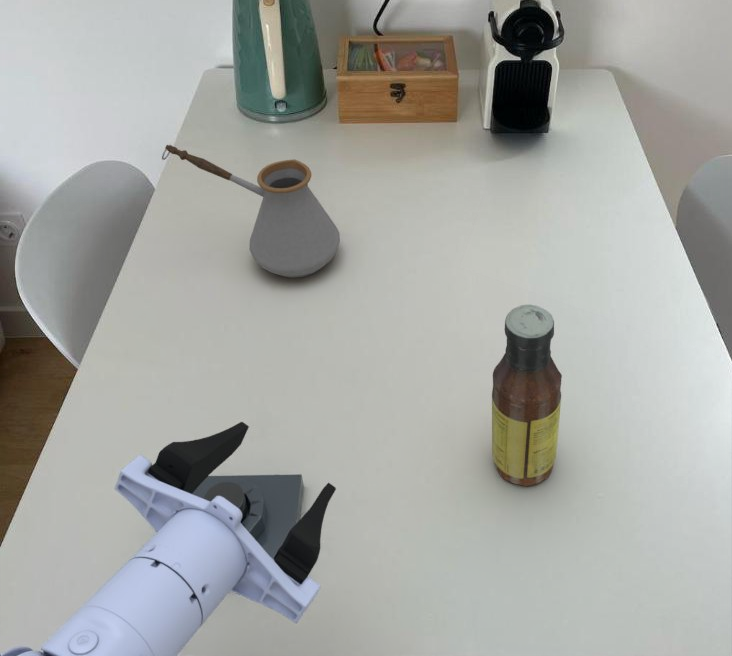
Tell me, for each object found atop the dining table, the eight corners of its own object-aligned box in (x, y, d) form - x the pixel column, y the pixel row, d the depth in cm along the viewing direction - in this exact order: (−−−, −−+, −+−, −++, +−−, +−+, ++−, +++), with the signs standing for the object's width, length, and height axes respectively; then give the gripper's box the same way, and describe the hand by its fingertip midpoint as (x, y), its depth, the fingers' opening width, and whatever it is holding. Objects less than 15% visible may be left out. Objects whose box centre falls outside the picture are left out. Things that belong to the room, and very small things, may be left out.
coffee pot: (353, 237, 107) (344, 139, 97) (324, 294, 99) (310, 194, 89) (207, 215, 112) (183, 120, 102) (168, 268, 104) (137, 170, 94)
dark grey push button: (250, 493, 74) (246, 481, 73) (244, 528, 72) (240, 516, 70) (211, 494, 74) (207, 481, 73) (204, 529, 72) (199, 516, 70)
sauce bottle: (553, 439, 82) (574, 295, 69) (555, 491, 78) (578, 348, 64) (488, 435, 83) (496, 292, 69) (487, 487, 78) (495, 345, 65)
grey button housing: (304, 486, 79) (299, 461, 76) (293, 582, 72) (287, 559, 69) (182, 488, 79) (172, 463, 77) (158, 584, 72) (147, 560, 69)
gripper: (284, 636, 44) (388, 487, 55) (77, 482, 46) (218, 368, 57) (246, 697, 48) (351, 546, 59) (57, 552, 50) (193, 433, 61)
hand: (284, 462), depth 58 cm, fingers open, 7 cm apart
